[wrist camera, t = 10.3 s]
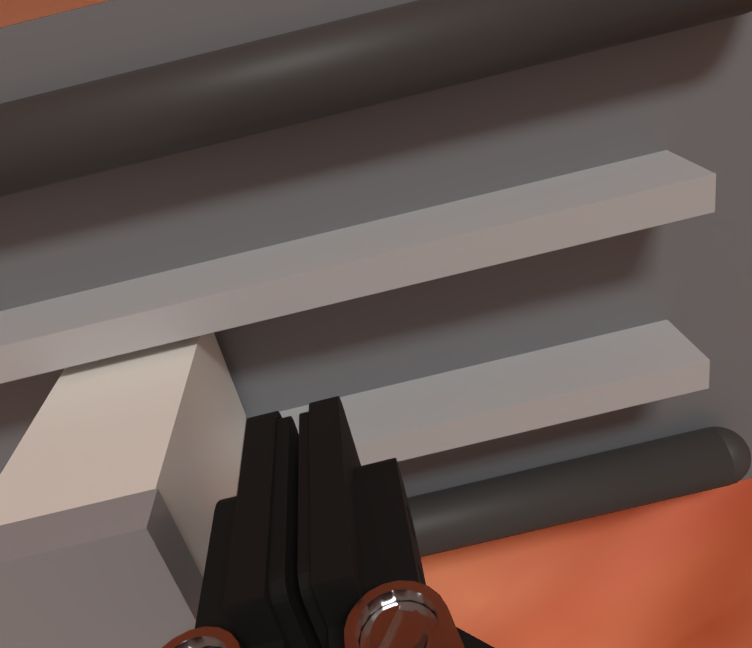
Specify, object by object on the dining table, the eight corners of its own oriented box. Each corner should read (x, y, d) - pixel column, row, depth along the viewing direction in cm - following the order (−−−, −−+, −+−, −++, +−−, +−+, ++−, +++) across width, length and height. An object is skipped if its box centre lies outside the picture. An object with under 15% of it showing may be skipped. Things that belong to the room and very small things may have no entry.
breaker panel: (760, -159, 14) (916, -206, 10) (728, 433, 21) (811, 523, 18) (-334, 113, 14) (-544, 159, 11) (16, 600, 22) (-39, 720, 18)
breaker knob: (208, 308, 15) (146, 528, 9) (251, 418, 17) (221, 668, 11) (73, 341, 15) (-78, 580, 9) (128, 447, 17) (29, 712, 11)
